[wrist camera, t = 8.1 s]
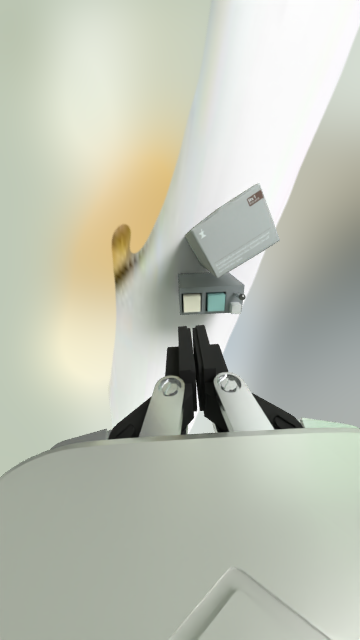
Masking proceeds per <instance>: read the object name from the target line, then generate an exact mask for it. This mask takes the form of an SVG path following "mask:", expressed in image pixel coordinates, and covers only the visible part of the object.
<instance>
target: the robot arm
mask: <svg viewBox="0 0 360 640" xmlns="http://www.w3.org/2000/svg"><path fill="white" fill-rule="evenodd" d="M178 337H179V347H168V348H167V359H166V373H165V377H163V378H161V379H160V380H159V381H158V382H157V383H156V385H155V388H154V391H153V394H152V397H150V398H149V399H148V400H147V401H145V402H144V403H143V404H142V405H140V406H139V407H138V408H137V409H135V410H134V411H133V412H132V413H130V414H129V415H128V416H127V417H125V418H124V419H123V420H122V421H120V422H119V423H118V424H117V425H116V426H115V427H114V428H113V429H112V430H109V431H107V429H104V430H100V431H97V432H93V433H90V434H86V435H83V436H79V437H76V438H72V439H68V440H65V441H62V442H60V443H58V444H56V445H55V446H53V447H52V448H51V449H50V450H48V451H45V452H42V453H40V454H38V455H36V456H33V457H31V458H29V459H27V460H25V461H23V462H21V463H19V464H18V465H16V466H14V467H13V468H11V469H10V470H9V471H7V472H6V473H5V474H3V475H2V476H1V477H0V640H360V428H358V427H356V426H352V425H348V424H342V423H335V422H329V421H321V420H315V419H308V418H301V419H300V420H298V419H296V418H295V417H294V416H292V415H291V414H289V413H287V412H285V411H284V410H282V409H280V408H278V407H276V406H275V405H273V404H271V403H269V402H267V401H266V400H264V399H262V398H260V397H258V396H256V395H255V394H253V393H251V392H250V390H249V389H248V387H247V385H246V384H245V382H244V381H243V379H242V378H241V377H240V376H238V375H237V374H234V373H230V372H228V369H227V366H226V364H225V361H224V358H223V355H222V352H221V349H220V346H219V344H212V345H210V344H209V340H208V337H207V333H206V329H205V326H204V325H198V326H196V328H193V347H192V339H191V331H190V328H187V326H183V327H178ZM193 351H194V354H193ZM196 383H197V391H198V399H199V407H200V411H204V416H205V417H206V418H208V419H209V420H211V421H212V422H213V428H214V431H215V433H204V434H187V433H188V424H189V423H190V422H191V421H192V419H193V418H194V411H197V397H196Z"/></svg>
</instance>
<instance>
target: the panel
mask: <svg viewBox="0 0 360 640" xmlns="http://www.w3.org/2000/svg"><path fill="white" fill-rule="evenodd" d="M178 277H179V300H180V315H189V314H211V313H231V312H230V311H229V308H230V302H239V303H240V304H241V305H242V302H243V300H240V299H239V298H237V297H236V296H234V292H238V293H240V294H244V284H242V283H241V282H240V281H239V280H237V279H236V278H235V277H234V276H232V275H231V274H230V273H229V272H227V273H226V274H224V275H222V276H221V277H219V278H217V277H215V276H214V275H213V274H212V273H191V274H178ZM208 292H224V294H225V308H224V311H208V310H207V308H206V293H208ZM185 293H200V296H201V300H200V312H184V307H183V294H185ZM241 311H242V306H241Z"/></svg>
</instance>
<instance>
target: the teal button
mask: <svg viewBox="0 0 360 640" xmlns="http://www.w3.org/2000/svg"><path fill="white" fill-rule="evenodd" d="M206 308H207V310H208V311H224V308H225V294H224V292H208V293H206Z"/></svg>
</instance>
